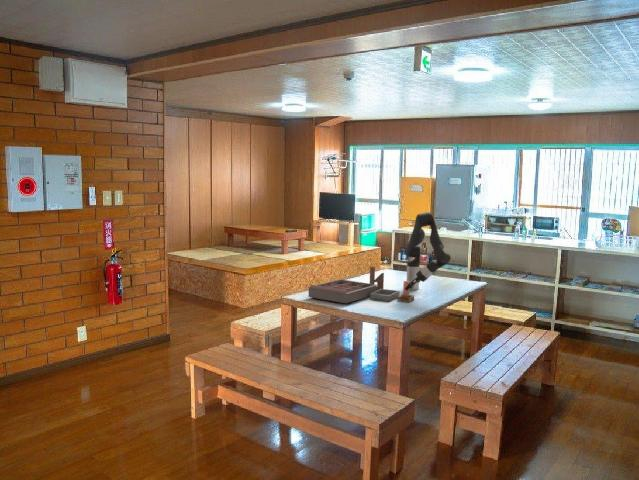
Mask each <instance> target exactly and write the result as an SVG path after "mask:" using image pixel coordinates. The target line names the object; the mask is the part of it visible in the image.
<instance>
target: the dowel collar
mask: <svg viewBox="0 0 639 480" xmlns="http://www.w3.org/2000/svg"><path fill="white" fill-rule="evenodd" d="M414 300H415V295H412V294H409V297H403V293H401V294H400V296H398V298H397V302H404V303H411V302H413V301H414Z"/></svg>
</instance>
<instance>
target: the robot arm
mask: <svg viewBox="0 0 639 480" xmlns="http://www.w3.org/2000/svg"><path fill="white" fill-rule="evenodd" d="M414 221H415V222H414V226H413V229H412V232H411V234H410V238H409V241H408V243H407V245H406V246H405V251H404V252H405V256H406V257H408V258H413V259H412V260H410V261H407V262H406V281H409V282H410V283H409V284H408V286H407V287H405V290H406V291H407V290H408V289H409V290H412V291H413V290H419V288H420V287H419V285H420V282H424V283H425V281H427V280H428V279H429V278H430V277H431V276H433V274H434V273H435V272H437V270H439V269H441V268H443V267H444V266H446V265H447V264H449V262H450V261H451V258H452V257H451V255H450V254H449V253H448V252H446V251H444V244H443V241H442V239H441V237H440V235H439V231H438V228H437V224H436V220H435V219H434V216H433V214H432V213H431V212H430V211H426V212H421V213H418V214H417V215H416V217H415V220H414ZM428 226H430V229H431V230H430V235H429V243H430V244H431V247H432V249H433V255H434V257H435V259H432V260H431V261H429V262H428V263H427V264H426V265H424V266H423V267H422V268H420V263H421V248H422V247H421V245H420V244H421V243H423V241H424V239H425V237H426V236H425V235H426V232H425V230H424V229H423V228H424V227H428Z"/></svg>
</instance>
